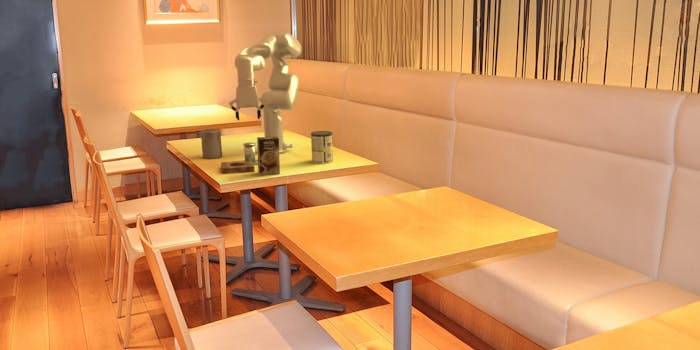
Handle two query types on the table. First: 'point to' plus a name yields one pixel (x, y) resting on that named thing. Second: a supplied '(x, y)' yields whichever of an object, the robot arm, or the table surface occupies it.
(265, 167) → the coffee box
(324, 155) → the coffee can
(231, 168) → the brown wooden square frame
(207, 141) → the pillar candle
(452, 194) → the table surface
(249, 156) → the end cap
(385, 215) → the table surface
